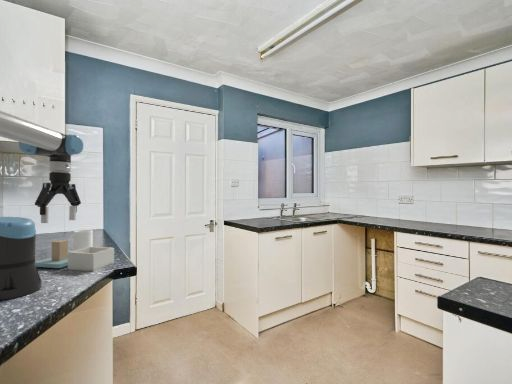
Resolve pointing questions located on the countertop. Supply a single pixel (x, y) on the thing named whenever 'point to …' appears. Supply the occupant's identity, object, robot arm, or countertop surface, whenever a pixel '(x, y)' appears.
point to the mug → (82, 239)
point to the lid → (56, 256)
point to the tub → (90, 258)
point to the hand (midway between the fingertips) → (59, 221)
